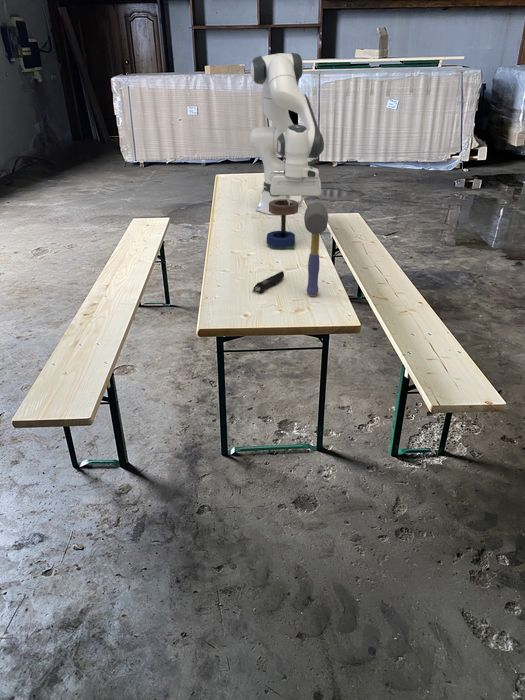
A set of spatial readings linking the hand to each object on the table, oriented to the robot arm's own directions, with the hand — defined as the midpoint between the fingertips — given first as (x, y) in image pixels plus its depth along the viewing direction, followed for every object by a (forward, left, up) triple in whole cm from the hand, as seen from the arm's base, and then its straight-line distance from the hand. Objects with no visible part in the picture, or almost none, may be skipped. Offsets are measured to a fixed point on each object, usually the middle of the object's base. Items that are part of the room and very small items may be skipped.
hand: (295, 206), depth 211 cm
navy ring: (0, -5, -15) cm, 16 cm away
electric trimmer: (+42, -8, -16) cm, 46 cm away
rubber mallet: (+49, +7, -16) cm, 52 cm away
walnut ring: (0, -5, -2) cm, 5 cm away
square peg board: (0, -5, -16) cm, 17 cm away
